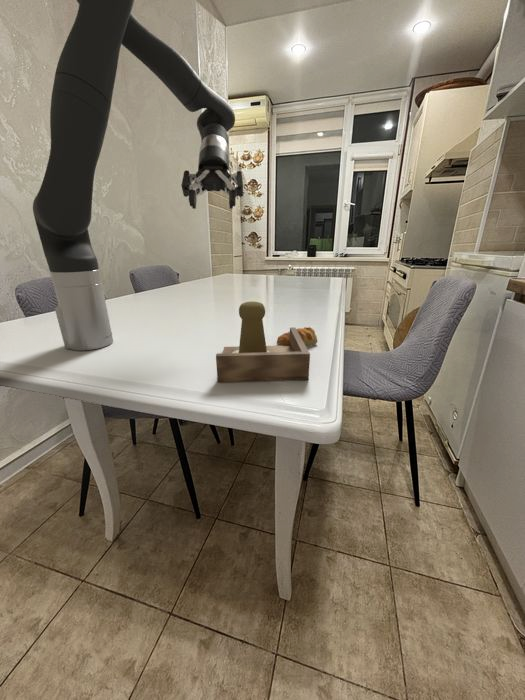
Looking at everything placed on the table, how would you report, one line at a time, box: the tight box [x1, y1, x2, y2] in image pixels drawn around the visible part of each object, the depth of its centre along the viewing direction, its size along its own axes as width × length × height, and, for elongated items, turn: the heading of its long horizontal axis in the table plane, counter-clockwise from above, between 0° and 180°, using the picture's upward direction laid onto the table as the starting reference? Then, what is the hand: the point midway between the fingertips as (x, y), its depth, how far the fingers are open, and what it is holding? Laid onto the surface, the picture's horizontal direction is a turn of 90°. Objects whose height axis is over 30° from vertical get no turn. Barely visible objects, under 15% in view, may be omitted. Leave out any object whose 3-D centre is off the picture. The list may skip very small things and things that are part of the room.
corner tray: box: [215, 327, 311, 384], centre depth 57 cm, size 16×16×5 cm
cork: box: [238, 301, 267, 353], centre depth 58 cm, size 6×6×11 cm
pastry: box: [276, 326, 318, 347], centre depth 69 cm, size 9×7×4 cm
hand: (212, 205), depth 66 cm, fingers open, 8 cm apart
